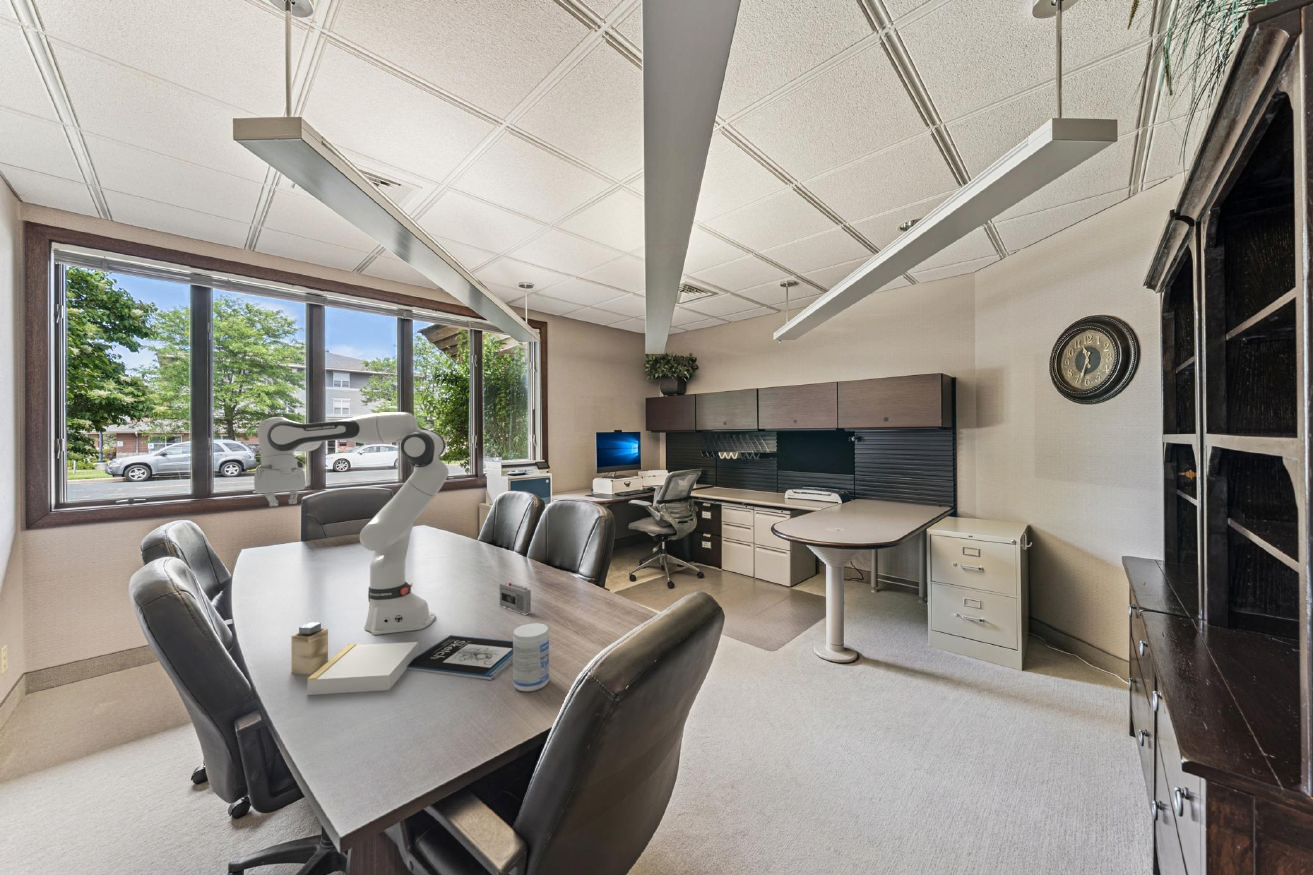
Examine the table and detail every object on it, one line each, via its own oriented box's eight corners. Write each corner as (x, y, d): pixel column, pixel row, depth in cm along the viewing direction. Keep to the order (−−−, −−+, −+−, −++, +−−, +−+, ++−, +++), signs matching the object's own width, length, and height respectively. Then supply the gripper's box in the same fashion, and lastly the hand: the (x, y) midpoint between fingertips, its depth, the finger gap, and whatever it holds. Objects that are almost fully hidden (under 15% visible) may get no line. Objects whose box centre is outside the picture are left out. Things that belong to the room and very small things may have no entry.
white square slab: (418, 654, 143) (418, 640, 143) (389, 690, 123) (389, 673, 123) (348, 658, 141) (348, 644, 141) (307, 695, 121) (307, 678, 121)
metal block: (310, 634, 137) (310, 622, 137) (320, 635, 136) (320, 623, 136) (299, 639, 133) (298, 627, 133) (310, 640, 133) (310, 628, 133)
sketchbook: (450, 639, 156) (450, 632, 156) (531, 648, 149) (531, 641, 149) (401, 670, 135) (401, 663, 135) (494, 682, 128) (494, 674, 128)
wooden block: (310, 662, 138) (310, 627, 138) (328, 664, 137) (327, 628, 137) (291, 672, 132) (291, 636, 132) (310, 674, 131) (310, 637, 131)
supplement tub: (549, 690, 123) (549, 635, 123) (511, 695, 121) (511, 638, 121) (549, 672, 132) (549, 621, 132) (514, 676, 130) (514, 624, 130)
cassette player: (499, 606, 184) (499, 581, 184) (505, 604, 186) (505, 579, 186) (524, 615, 175) (524, 589, 175) (530, 613, 177) (530, 587, 177)
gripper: (266, 463, 149) (272, 505, 149) (306, 463, 170) (312, 500, 169) (245, 466, 149) (251, 509, 148) (288, 466, 169) (293, 504, 168)
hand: (283, 504), depth 159 cm, fingers open, 8 cm apart
